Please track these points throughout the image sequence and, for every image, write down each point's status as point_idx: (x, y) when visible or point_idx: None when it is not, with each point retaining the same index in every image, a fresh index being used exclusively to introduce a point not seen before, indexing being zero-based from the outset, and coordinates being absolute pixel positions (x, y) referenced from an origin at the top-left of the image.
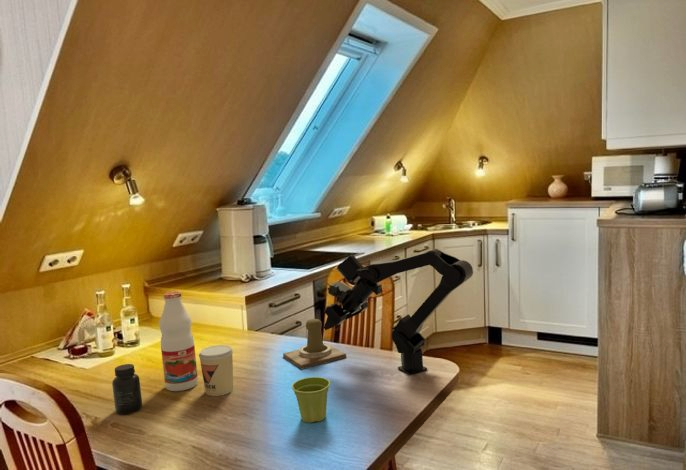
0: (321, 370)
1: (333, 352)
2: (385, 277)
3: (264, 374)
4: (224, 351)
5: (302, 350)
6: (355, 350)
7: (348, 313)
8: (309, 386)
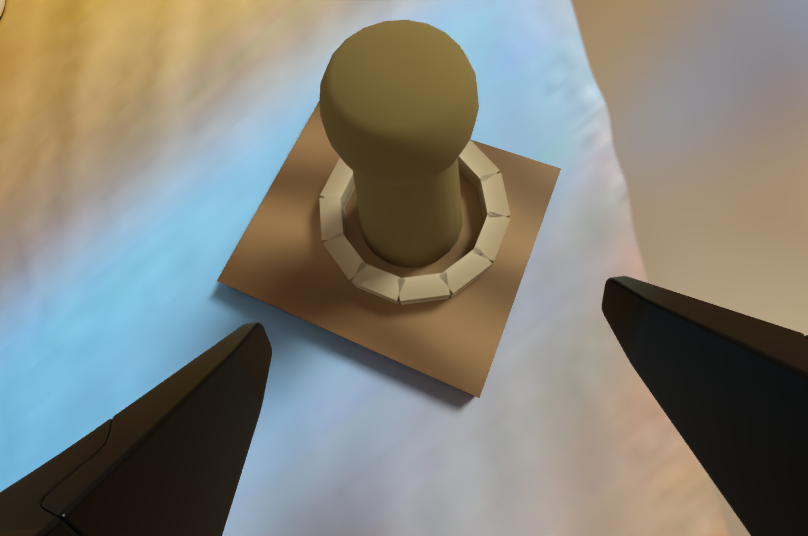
0: None
1: (457, 310)
2: None
3: (120, 181)
4: None
5: None
6: (602, 372)
7: (772, 470)
8: None
